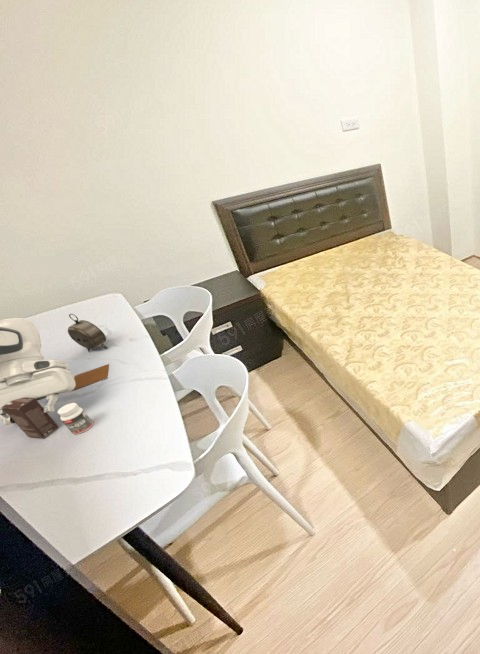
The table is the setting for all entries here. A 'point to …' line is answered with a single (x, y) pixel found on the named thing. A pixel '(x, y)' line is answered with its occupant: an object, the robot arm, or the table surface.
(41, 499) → the table surface
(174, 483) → the table surface
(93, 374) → the coaster
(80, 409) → the pill bottle
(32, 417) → the box
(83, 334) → the alarm clock
